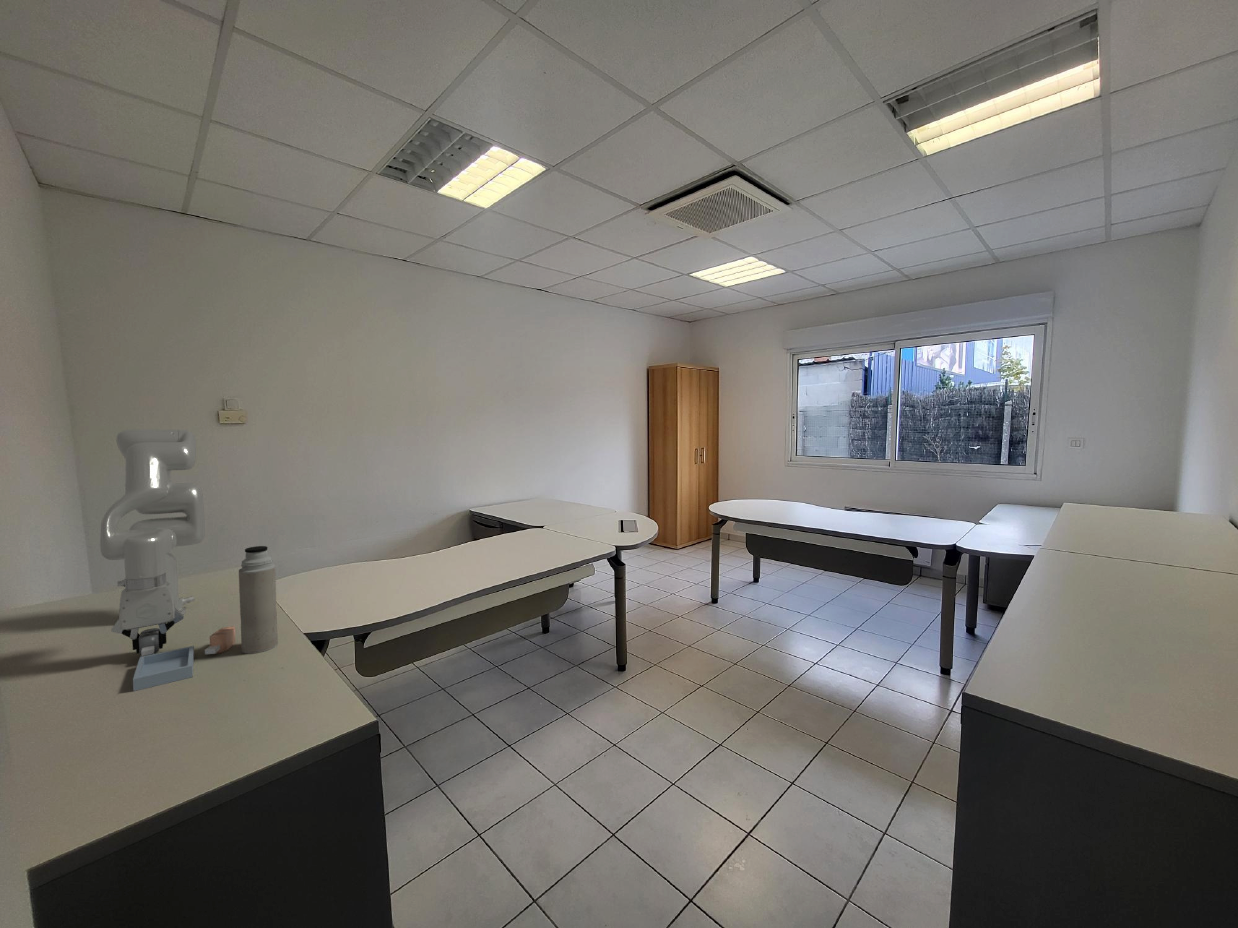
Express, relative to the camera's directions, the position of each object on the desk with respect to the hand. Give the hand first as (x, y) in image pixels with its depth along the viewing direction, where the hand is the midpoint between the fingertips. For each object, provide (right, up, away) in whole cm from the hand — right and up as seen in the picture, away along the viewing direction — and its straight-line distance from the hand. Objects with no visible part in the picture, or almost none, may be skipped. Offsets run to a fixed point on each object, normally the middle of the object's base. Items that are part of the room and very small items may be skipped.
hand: (150, 648), depth 125 cm
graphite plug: (+1, 0, -1) cm, 1 cm away
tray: (+12, -3, -9) cm, 15 cm away
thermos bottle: (+25, -2, +6) cm, 26 cm away
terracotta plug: (+15, -2, +4) cm, 16 cm away
